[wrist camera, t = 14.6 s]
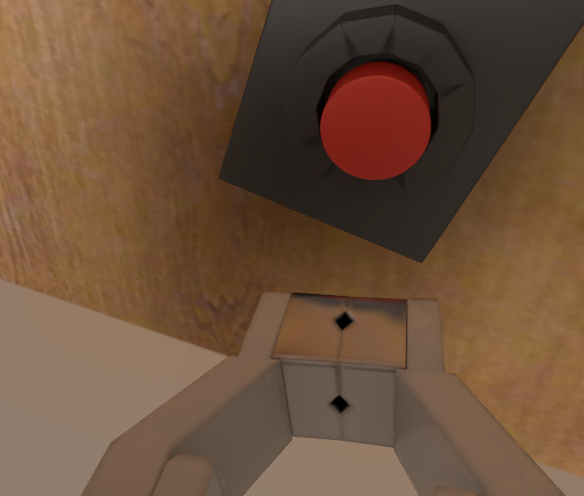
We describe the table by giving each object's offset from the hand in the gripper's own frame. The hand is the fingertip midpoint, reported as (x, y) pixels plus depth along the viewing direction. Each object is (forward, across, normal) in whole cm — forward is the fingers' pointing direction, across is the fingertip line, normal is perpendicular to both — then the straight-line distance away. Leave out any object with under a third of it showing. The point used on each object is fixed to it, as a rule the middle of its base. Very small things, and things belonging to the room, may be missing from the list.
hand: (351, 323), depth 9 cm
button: (+11, 0, 0) cm, 11 cm away
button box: (+15, 0, 0) cm, 15 cm away
